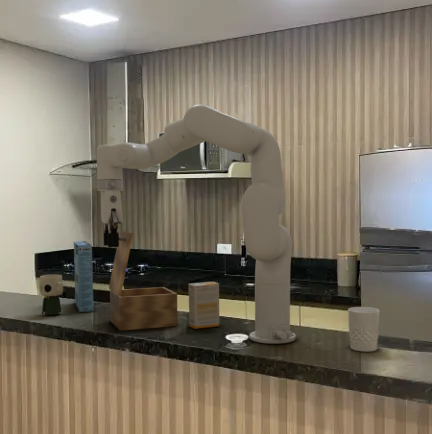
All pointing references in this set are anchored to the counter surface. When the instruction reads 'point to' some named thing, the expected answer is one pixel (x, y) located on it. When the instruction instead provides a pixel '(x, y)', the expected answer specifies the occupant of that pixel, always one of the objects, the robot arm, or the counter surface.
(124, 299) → the chest
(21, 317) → the counter surface
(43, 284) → the character mug
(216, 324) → the supplement box
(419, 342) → the counter surface
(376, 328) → the white cup
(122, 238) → the lid
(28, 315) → the counter surface
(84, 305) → the gum box
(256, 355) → the counter surface
